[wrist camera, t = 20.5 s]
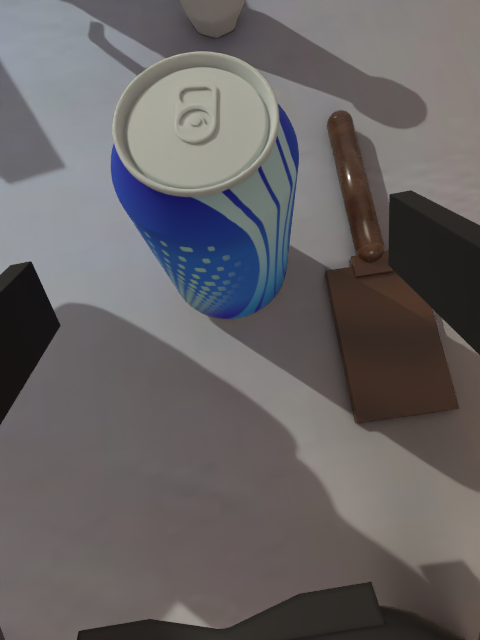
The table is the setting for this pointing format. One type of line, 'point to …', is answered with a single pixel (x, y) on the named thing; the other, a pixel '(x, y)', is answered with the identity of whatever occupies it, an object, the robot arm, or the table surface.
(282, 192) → the beer can
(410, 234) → the robot arm
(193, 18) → the salt shaker
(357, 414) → the spatula
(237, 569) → the table surface
